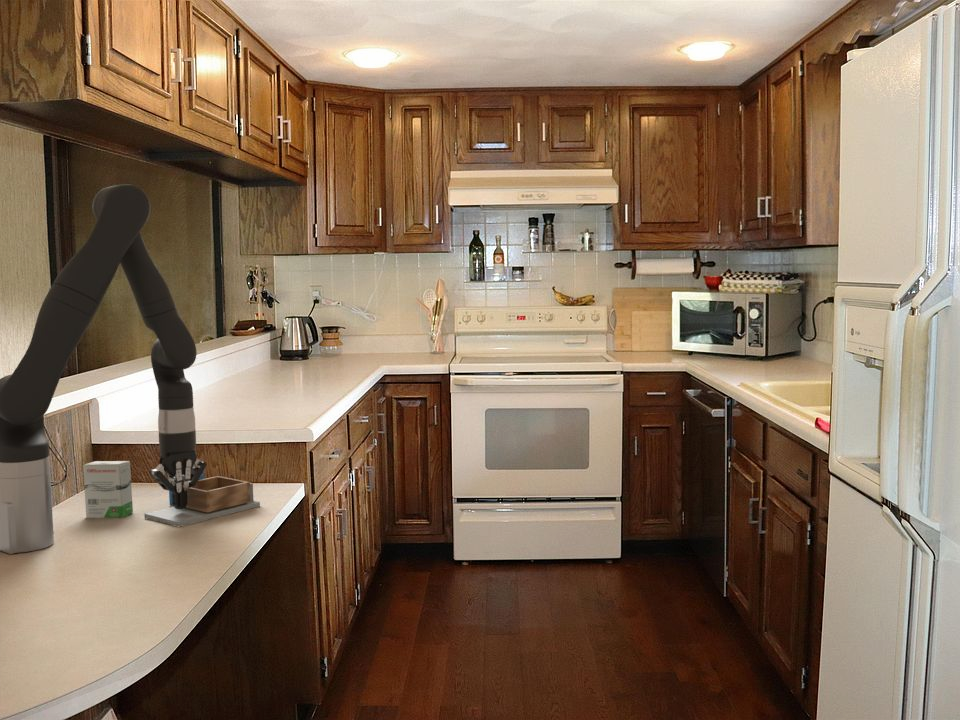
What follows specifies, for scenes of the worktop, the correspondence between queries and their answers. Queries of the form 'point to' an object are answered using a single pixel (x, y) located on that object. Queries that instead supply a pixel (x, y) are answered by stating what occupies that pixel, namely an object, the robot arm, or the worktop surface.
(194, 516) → the backstop board
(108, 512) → the ink box
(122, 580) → the worktop surface
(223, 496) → the box
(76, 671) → the worktop surface
